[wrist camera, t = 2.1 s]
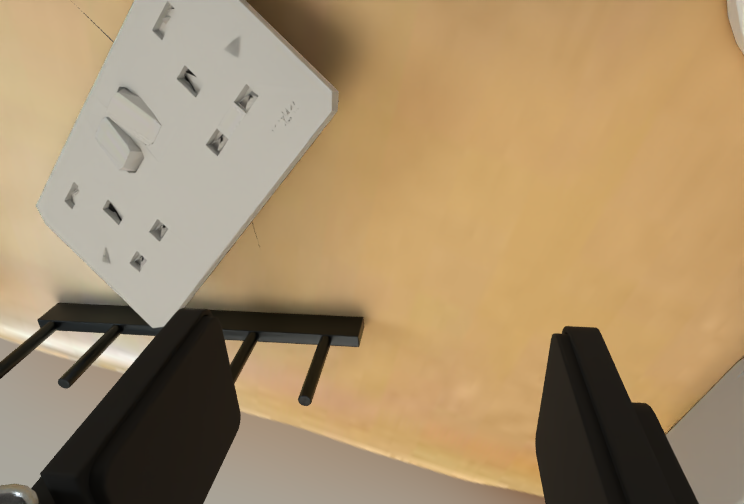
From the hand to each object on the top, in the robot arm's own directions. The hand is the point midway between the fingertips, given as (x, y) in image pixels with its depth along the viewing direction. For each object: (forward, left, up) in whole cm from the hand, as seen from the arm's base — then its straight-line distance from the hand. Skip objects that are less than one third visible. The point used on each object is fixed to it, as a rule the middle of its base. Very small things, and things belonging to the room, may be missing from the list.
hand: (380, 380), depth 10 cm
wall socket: (+13, 0, -18) cm, 22 cm away
